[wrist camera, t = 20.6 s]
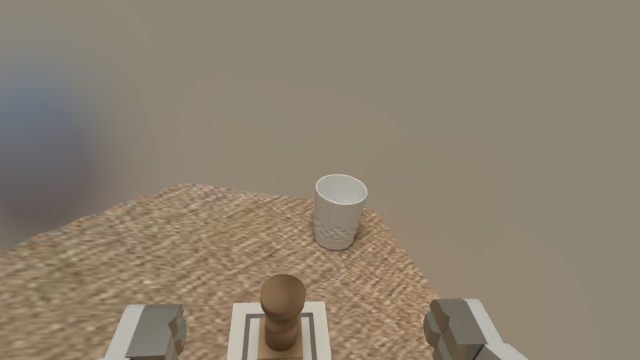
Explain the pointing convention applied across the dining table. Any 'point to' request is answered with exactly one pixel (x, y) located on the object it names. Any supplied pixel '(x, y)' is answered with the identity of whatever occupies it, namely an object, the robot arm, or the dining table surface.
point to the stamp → (281, 319)
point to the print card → (247, 331)
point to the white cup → (338, 210)
